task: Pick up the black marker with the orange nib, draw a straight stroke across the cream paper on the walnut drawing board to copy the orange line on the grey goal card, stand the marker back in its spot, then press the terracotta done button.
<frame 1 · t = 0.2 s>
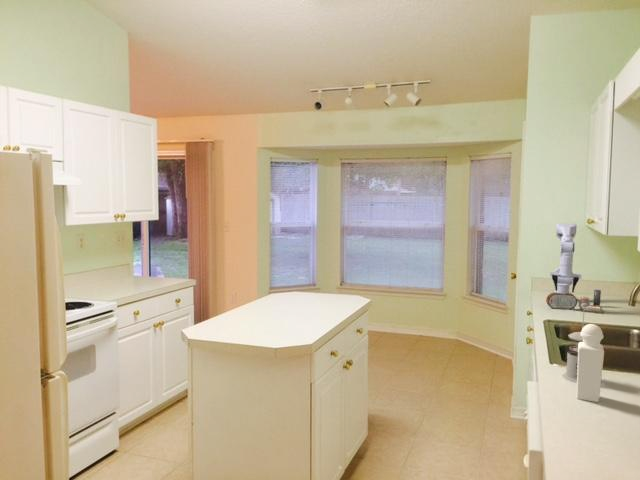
hand: (564, 291, 262), 10 cm above the countertop, tool pointing down, fingers open, 7 cm apart
drawing board: (591, 310, 265), on the countertop
marker: (596, 306, 273), on the countertop
done button: (584, 300, 274), point 3 cm above the countertop, slide at 0.0 cm
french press: (581, 378, 165), on the countertop
tin: (561, 309, 267), on the countertop
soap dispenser: (587, 398, 150), on the countertop
button base: (584, 306, 274), on the countertop
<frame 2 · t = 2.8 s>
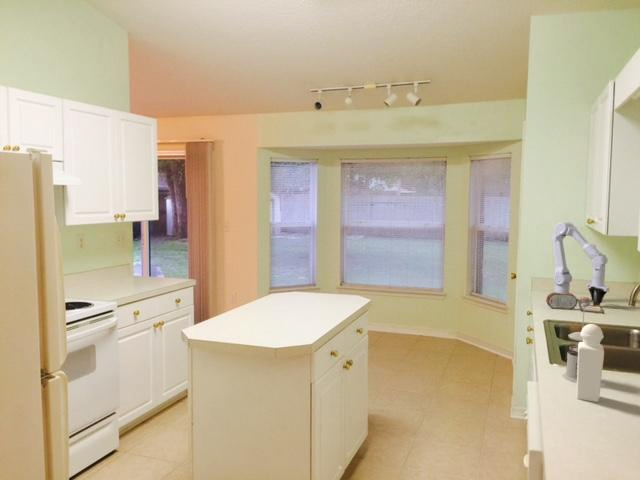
hand: (596, 302, 273), 2 cm above the countertop, tool pointing down, fingers closed on marker, 3 cm apart
marker: (596, 306, 273), on the countertop, touching gripper
everything else where it was.
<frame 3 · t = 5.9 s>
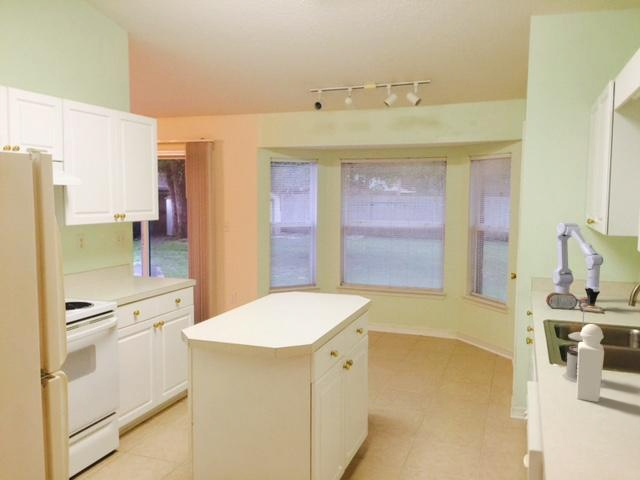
hand: (591, 302, 266), 3 cm above the countertop, tool pointing down, fingers closed on marker, 3 cm apart
marker: (591, 307, 267), point 1 cm above the countertop, touching gripper
everything else where it was.
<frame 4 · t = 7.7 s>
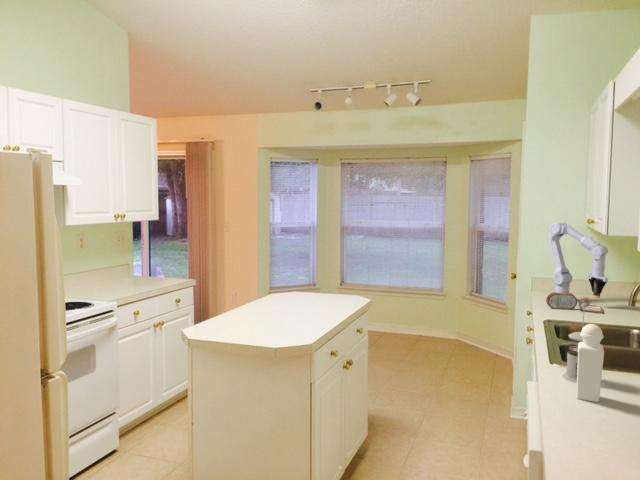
hand: (596, 292, 271), 8 cm above the countertop, tool pointing down, fingers closed on marker, 3 cm apart
marker: (596, 297, 272), point 5 cm above the countertop, touching gripper
everything else where it was.
when the fingers open (3 cm above the countertop, at t = 9.2 s): marker drops 1 cm, on the countertop.
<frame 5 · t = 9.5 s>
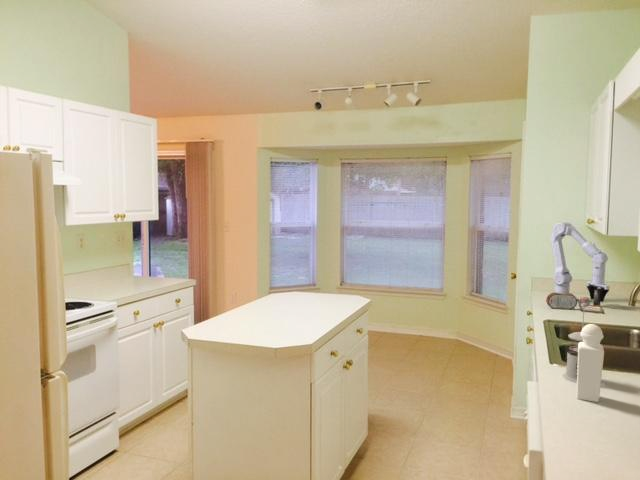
hand: (596, 300, 273), 3 cm above the countertop, tool pointing down, fingers open, 6 cm apart
marker: (596, 306, 273), on the countertop
everything else where it was.
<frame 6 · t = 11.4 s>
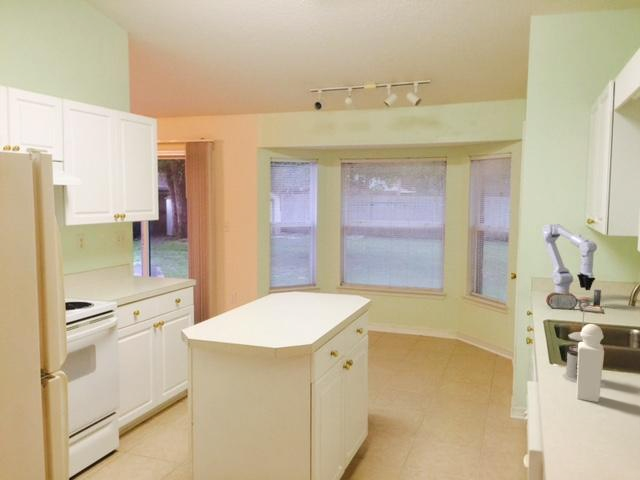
hand: (585, 288, 273), 9 cm above the countertop, tool pointing down, fingers open, 6 cm apart
nothing on the countertop moved.
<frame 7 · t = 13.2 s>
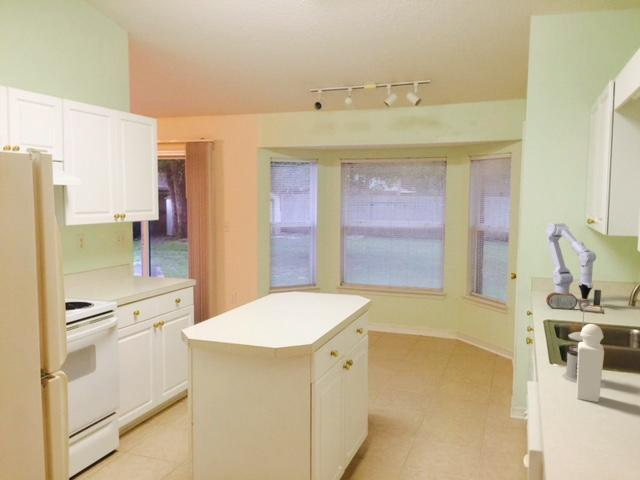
hand: (584, 298, 274), 4 cm above the countertop, tool pointing down, fingers closed, pressing on done button
done button: (584, 301, 274), point 3 cm above the countertop, slide at 0.5 cm, touching gripper
everything else where it was.
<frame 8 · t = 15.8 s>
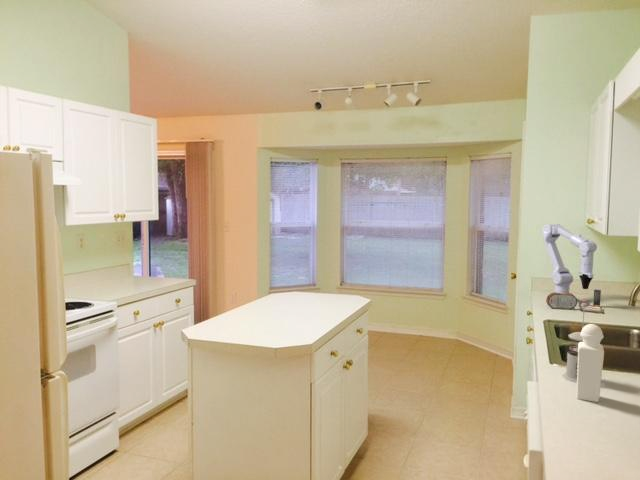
hand: (585, 288, 273), 9 cm above the countertop, tool pointing down, fingers closed
done button: (584, 302, 274), point 2 cm above the countertop, slide at 1.0 cm
everything else where it was.
at the end: done button slide at 1.0 cm; marker 0.1 cm from the target spot, on the countertop; marker tilted 1° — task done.
